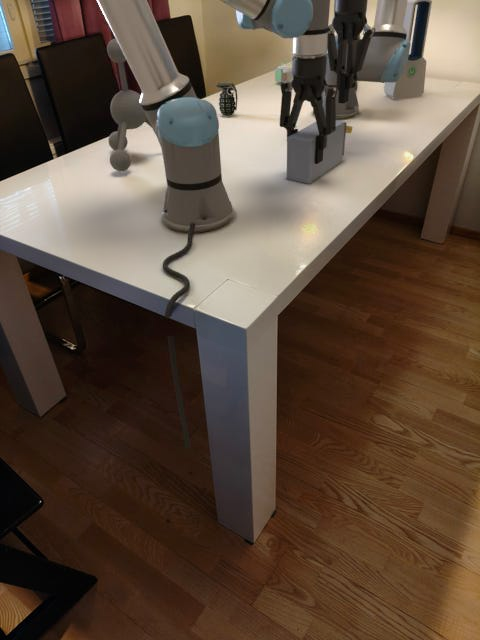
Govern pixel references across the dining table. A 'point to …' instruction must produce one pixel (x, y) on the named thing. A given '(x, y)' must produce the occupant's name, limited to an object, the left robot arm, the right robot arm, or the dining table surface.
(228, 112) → the grenade
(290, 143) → the cabinet
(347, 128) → the drawer
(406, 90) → the electronic device
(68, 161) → the dining table surface
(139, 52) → the left robot arm
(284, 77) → the decorative block
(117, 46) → the molecular model
